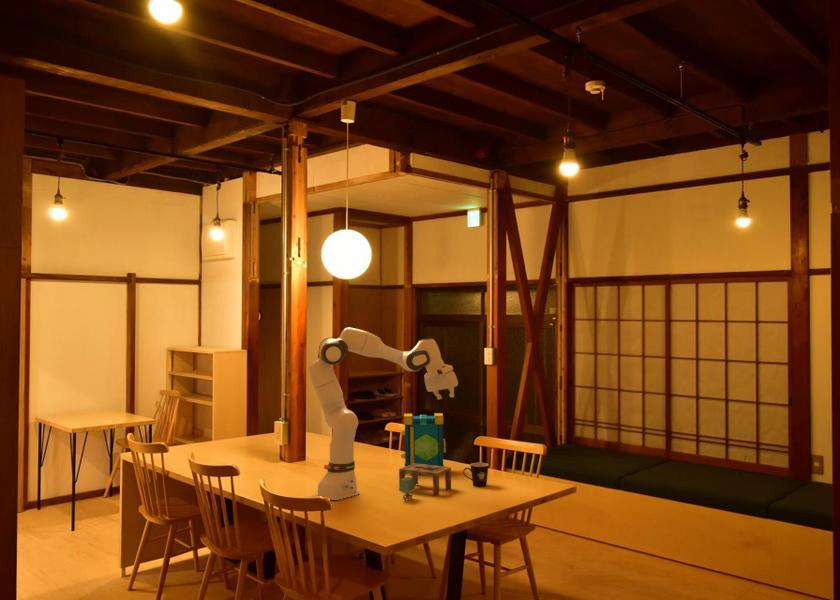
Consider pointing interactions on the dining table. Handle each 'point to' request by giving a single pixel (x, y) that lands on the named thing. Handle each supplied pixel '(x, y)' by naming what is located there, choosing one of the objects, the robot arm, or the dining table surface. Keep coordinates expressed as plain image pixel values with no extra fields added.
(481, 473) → the coffee mug
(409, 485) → the peg
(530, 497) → the dining table surface
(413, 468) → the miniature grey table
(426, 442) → the decorative book
